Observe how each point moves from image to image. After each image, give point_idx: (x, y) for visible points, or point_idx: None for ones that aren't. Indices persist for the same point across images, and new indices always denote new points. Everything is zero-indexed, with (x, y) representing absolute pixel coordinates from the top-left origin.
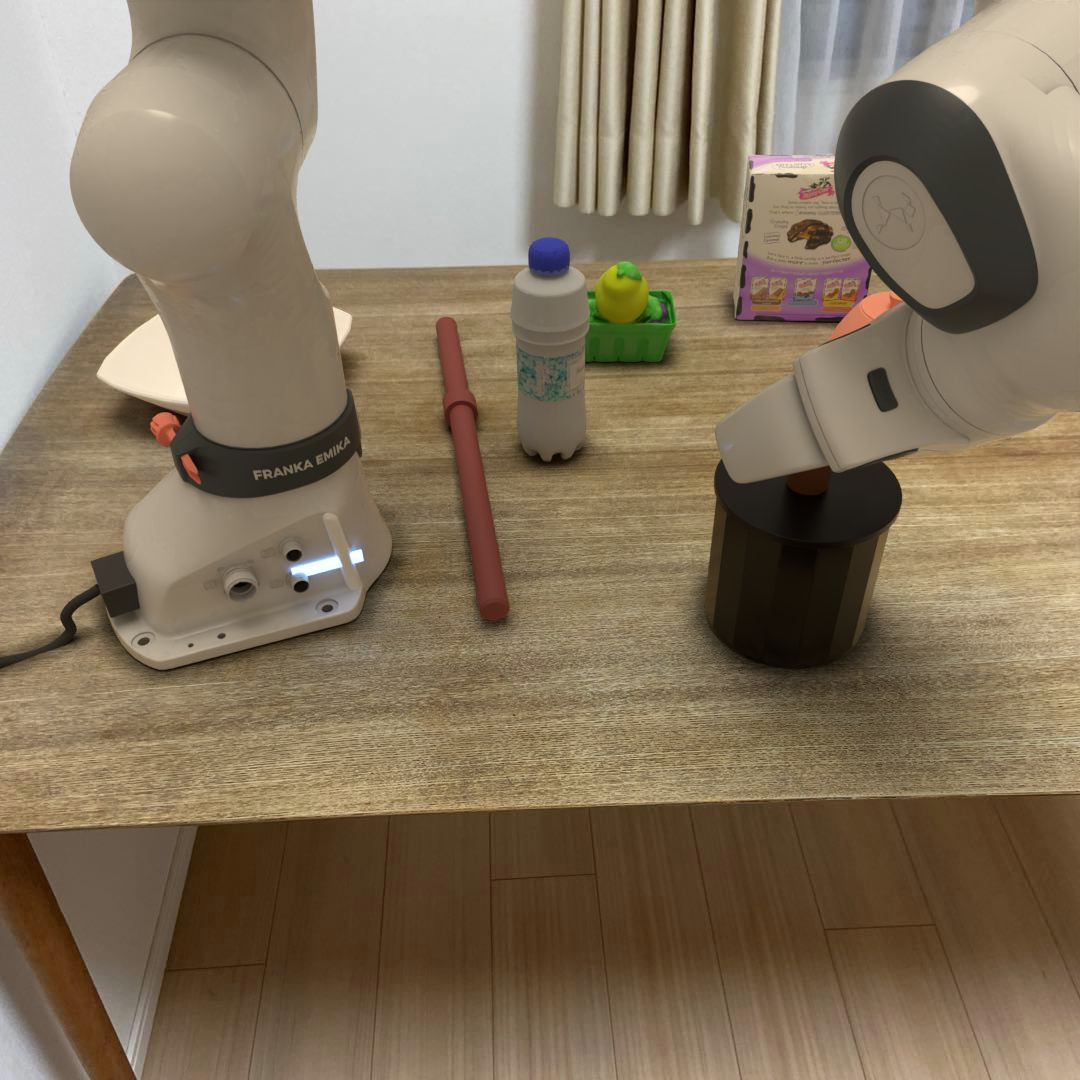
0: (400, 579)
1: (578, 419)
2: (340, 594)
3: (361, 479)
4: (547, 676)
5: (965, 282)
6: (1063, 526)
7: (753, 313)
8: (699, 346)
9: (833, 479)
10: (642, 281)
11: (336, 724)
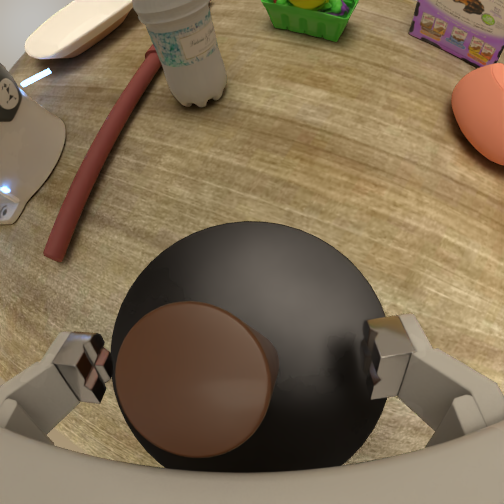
0: (45, 195)
1: (203, 81)
2: (10, 204)
3: (9, 137)
4: (65, 325)
5: None
6: None
7: (421, 35)
8: (372, 41)
9: (290, 373)
10: None
11: None
